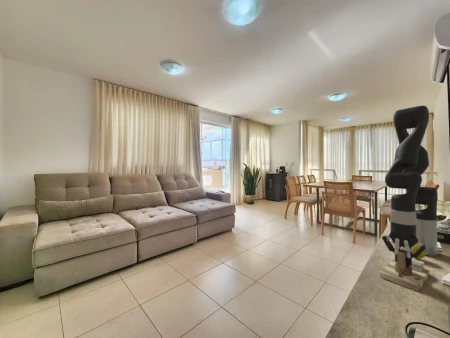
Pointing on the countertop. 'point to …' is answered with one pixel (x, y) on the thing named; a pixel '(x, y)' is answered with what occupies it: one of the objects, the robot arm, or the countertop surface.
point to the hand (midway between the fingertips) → (403, 264)
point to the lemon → (416, 250)
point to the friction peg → (402, 264)
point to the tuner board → (411, 281)
